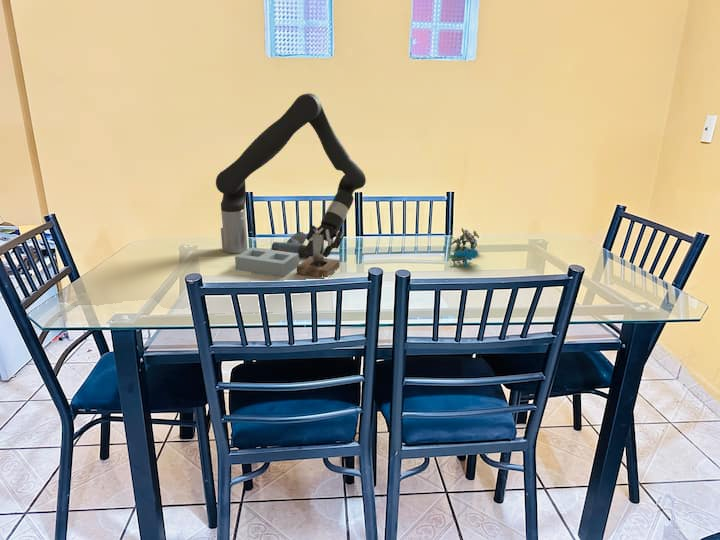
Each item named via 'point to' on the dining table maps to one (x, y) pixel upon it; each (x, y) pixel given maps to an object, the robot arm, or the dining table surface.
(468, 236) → the passion flower
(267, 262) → the block
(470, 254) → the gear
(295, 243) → the power drill
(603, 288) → the dining table surface
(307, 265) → the socket block
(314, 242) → the steel bit
